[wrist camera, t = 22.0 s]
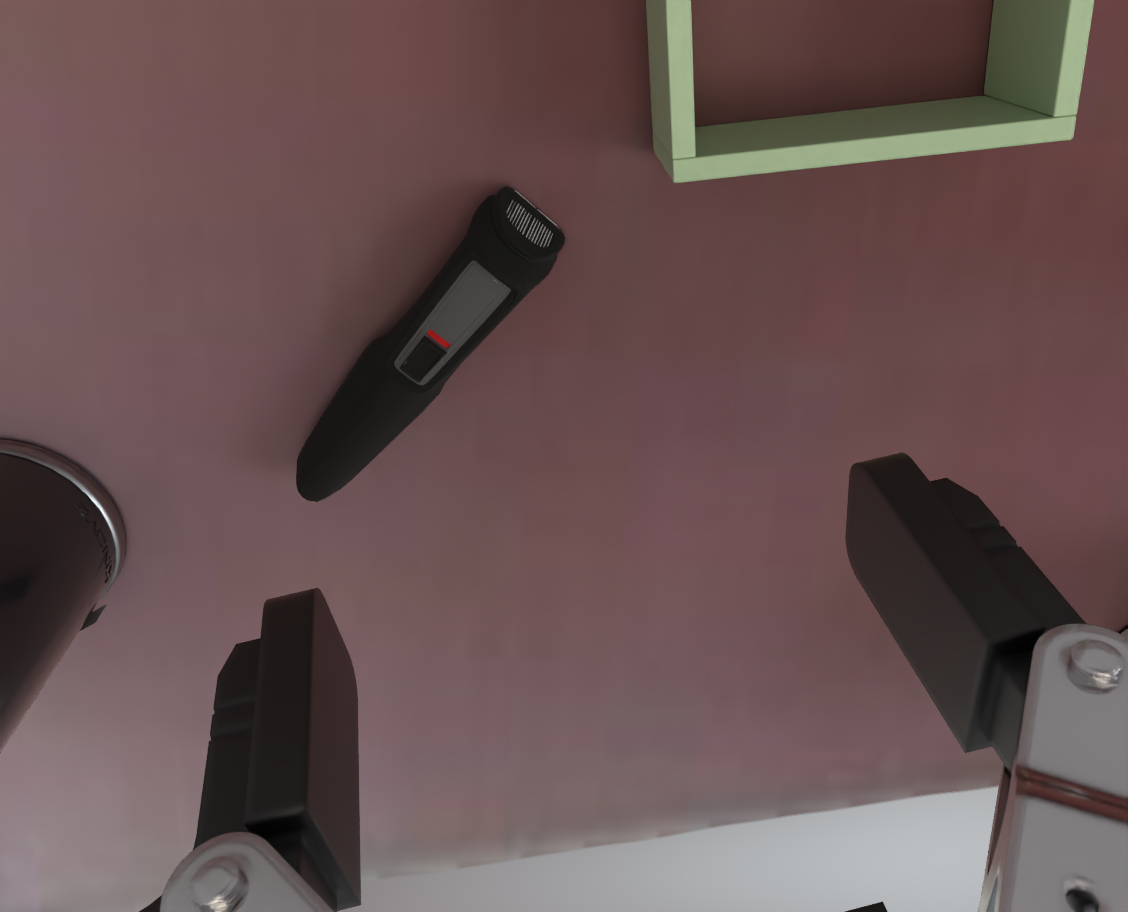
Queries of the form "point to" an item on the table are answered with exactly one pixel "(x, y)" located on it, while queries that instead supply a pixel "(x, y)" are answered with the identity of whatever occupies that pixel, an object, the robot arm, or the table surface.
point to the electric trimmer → (430, 340)
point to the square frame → (996, 119)
